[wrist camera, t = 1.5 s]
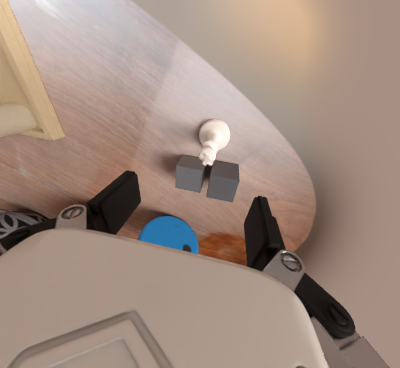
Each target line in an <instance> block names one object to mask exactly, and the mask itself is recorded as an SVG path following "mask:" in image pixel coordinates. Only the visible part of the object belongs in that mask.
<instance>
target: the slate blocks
mask: <svg viewBox="0 0 400 368" xmlns="http://www.w3.org/2000/svg"><path fill="white" fill-rule="evenodd" d="M202 163H203V161H202V160H200V159H199V157H194V156H188V155H183V156H182V157H181V159H180V160H179V162H178V163H177V165H176V188H179V189H184V190H189V191H194V192H199V193H200V191H201V188H202V185H203V181H204V177H205V170H206V166H205V165H203V164H202ZM238 183H239V165H238V164H233V163H227V162H221V161H216V160H214V162H213V165H212V170H211V174H210V179H209V185H208V190H207V196H206V197H209V198H214V199H219V200H224V201H229V202H233V199H234V196H235V193H236V190H237V187H238Z"/></svg>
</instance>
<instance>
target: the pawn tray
mask: <svg viewBox="0 0 400 368" xmlns="http://www.w3.org/2000/svg"><path fill="white" fill-rule="evenodd" d="M14 134H21V135H26V136H31V137H37V138H42V139H48V140H56V139H59V138H62V137H65V135H64V132H63V130H62V128H61V125H60V123H59V120H58V118H57V116H56V113H55V111H54V109H53V106H52V104H51V101H50V99H49V97H48V94H47V92H46V90H45V87H44V85H43V83H42V80H41V78H40V75H39V73H38V71H37V68H36V66H35V64H34V61H33V59H32V56H31V54H30V52H29V49H28V47H27V45H26V42H25V40H24V37H23V35H22V33H21V30H20V28H19V26H18V23H17V21H16V18H15V16H14V14H13V11H12V9H11V7H10V4H9V2H8V0H0V138H2V137H6V136H10V135H14Z"/></svg>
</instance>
